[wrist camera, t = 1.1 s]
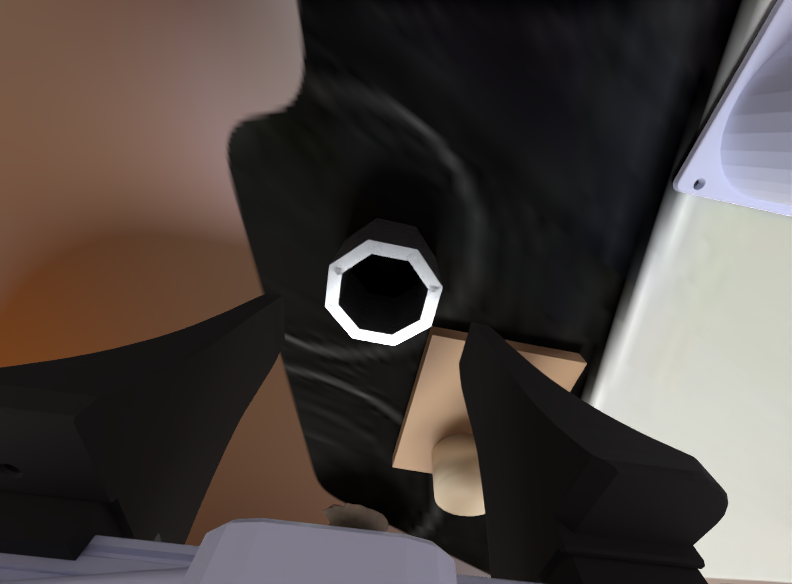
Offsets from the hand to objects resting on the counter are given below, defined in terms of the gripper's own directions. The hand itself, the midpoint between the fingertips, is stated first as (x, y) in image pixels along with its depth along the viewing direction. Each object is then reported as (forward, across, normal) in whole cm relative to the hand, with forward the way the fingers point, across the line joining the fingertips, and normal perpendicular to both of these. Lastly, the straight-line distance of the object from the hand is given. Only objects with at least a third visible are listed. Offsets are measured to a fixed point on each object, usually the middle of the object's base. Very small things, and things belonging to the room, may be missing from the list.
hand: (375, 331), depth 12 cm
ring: (+7, 0, 0) cm, 7 cm away
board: (+7, -8, +10) cm, 15 cm away
